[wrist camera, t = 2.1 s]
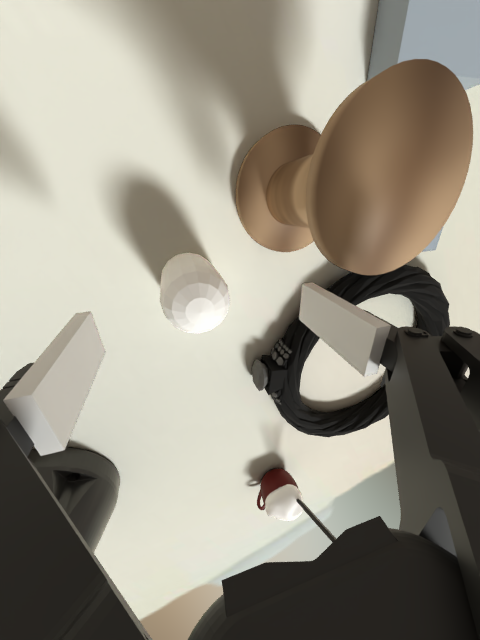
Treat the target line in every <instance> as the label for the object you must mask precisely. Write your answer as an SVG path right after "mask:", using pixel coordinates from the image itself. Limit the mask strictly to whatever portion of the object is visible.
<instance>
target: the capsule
mask: <svg viewBox="0 0 480 640" xmlns="http://www.w3.org/2000/svg"><path fill="white" fill-rule="evenodd" d="M160 303H161V306H162V309H163V312H164V314H165V316H166V318H167V319H168V320H169V321H170V322H171V323H172V324H173V326H174V327H176V328H178V329H180V330H182V331H184V332H186V333H203V332H206V331H210V330H212V329H213V328H215V327H216V326H218V325H219V324H220V323H221V322H222V321H223V319H224V318H225V316H226V315H227V314H228V309H229V305H230V297H229V292H228V286H227V284H226V283H225V281H224V280H223V278H222V277H221V275H220V274H219V273H218V271H217V270H216V269H215V268H214V267H213V265H212V264H211V263H210V262H209V261H208V260H207V259H205V258H204V257H202V256H201V255H199V254H194V253H189V252H188V253H183V254H178V255H176V256H174V257H173V258H171V259H170V260H169V261H167V263H166V265H165V266H164V268H163V270H162V274H161V286H160Z"/></svg>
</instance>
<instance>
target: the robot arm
mask: <svg viewBox="0 0 480 640" xmlns="http://www.w3.org/2000/svg"><path fill="white" fill-rule="evenodd" d="M299 320H300V321H301V322H303V323H304V324H305V325H306V326H307V327H308V328H309V329H311V330H312V331H313V332H314V333H315V334H316V335H317V336H318V337H320V338H321V339H322V340H323V341H324V342H325V343H326V344H328V345H329V346H330V347H331V348H332V349H333V350H334V351H335V352H337V353H338V354H339V355H340V356H341V357H342V358H343V359H345V360H346V361H347V362H348V363H349V364H350V365H351V366H352V367H354V368H355V369H356V370H357V371H358V372H359V373H360V374H362V375H363V376H364V377H365V376H369V375H373V374H377V372H378V368H379V365H380V364H382V365H383V366H384V367H386V369H385V373H384V376H383V379H382V382H381V387H383V385H384V384H385V386H386V394H387V402H388V410H389V419H390V427H391V435H392V443H393V451H394V459H395V467H396V475H397V484H398V492H399V500H400V507H401V521H400V527H399V530H398V529H391V528H388V527H387V526H386V524H385V523H384V521H383V520H382V519H381V517H380V516H378V517H376V518H374V519H371V520H369V521H366V522H364V523H361V524H359V525H356V526H354V527H352V528H349V529H347V530H345V531H344V532H343V533H342V534H341V535H340V536H339V537H338V538H337V539H336V540H335V541H334V542H333V543H332V544H331V545H330V546H329V547H328V548H327V549H326V550H325V551H324V552H323V553H322V554H321V555H320V556H319V557H318V558H317V559H315V560H313V561H305V562H273V563H272V562H269V563H263V564H261V565H258V566H256V567H254V568H251V569H249V570H246V571H244V572H241V573H239V574H236V575H234V576H232V577H229V578H227V579H224V580H222V586H223V592H224V594H223V595H222V596H221V597H220V598H218V599H217V600H216V601H215V602H214V603H213V604H212V605H211V607H210V608H209V609H208V610H207V611H206V612H205V613H204V615H203V616H202V618H201V619H200V620H199V622H198V623H197V625H196V626H195V628H194V629H193V631H192V633H191V635H190V637H189V638H188V640H480V334H478V333H477V332H475V331H472V330H470V329H468V328H464V327H447V328H445V330H444V332H443V335H442V336H431V335H430V334H429V333H428V332H426V331H424V330H421V329H419V328H414V327H400V328H397V327H395V326H394V325H392V324H390V323H388V322H386V321H384V320H382V319H380V318H379V317H377V316H374V315H373V314H371V313H370V312H368V311H365V310H362V309H360V308H358V307H357V306H355V305H353V304H351V303H349V302H347V301H346V300H344V299H342V298H340V297H338V296H336V295H335V294H333V293H331V292H329V291H327V290H325V289H324V288H322V287H320V286H318V285H316V284H314V283H313V282H311V283H303V284H302V291H301V303H300V314H299ZM105 352H106V351H105V349H104V346H103V343H102V340H101V338H100V335H99V332H98V329H97V327H96V324H95V321H94V318H93V315H92V313H91V312H83V313H76V314H75V315H74V316H73V317H72V319H71V320H70V321H69V322H68V323H67V325H66V326H65V327H64V328H63V329H62V330H61V332H60V333H59V334H58V335H57V336H56V338H55V339H54V340H53V341H52V342H51V344H50V345H49V346H48V347H47V348H46V350H45V351H44V352H43V353H42V354H41V356H40V357H39V358H38V359H37V360H36V362H35V363H29V364H27V365H26V366H25V367H23V368H22V369H20V370H19V371H17V372H16V373H15V374H14V375H13V377H12V378H11V379H10V380H9V382H7V383H6V384H5V386H4V387H3V389H1V390H0V640H152V638H151V637H150V636H149V634H148V633H147V631H146V630H145V628H144V627H143V626H142V624H141V623H140V621H139V620H138V618H137V617H136V615H135V614H134V612H133V611H132V609H131V608H130V606H129V605H128V604H127V602H126V601H125V599H124V598H123V596H122V595H121V593H120V592H119V590H118V589H117V587H116V586H115V584H114V583H113V581H112V580H111V578H110V577H109V575H108V574H107V572H106V571H105V570H104V568H103V567H102V565H101V564H100V562H99V561H98V559H97V558H96V556H95V555H94V551H95V549H96V547H97V545H98V543H99V540H100V538H101V536H102V534H103V532H104V530H105V528H106V525H107V523H108V521H109V519H110V517H111V515H112V512H113V510H114V508H115V505H116V502H117V498H118V491H119V485H120V476H119V473H118V471H117V469H116V468H115V466H114V465H113V464H112V463H111V462H110V461H108V460H107V459H105V458H104V457H102V456H100V455H98V454H95V453H93V452H89V451H86V450H81V449H75V448H66V446H67V443H68V441H69V439H70V436H71V434H72V431H73V429H74V427H75V424H76V422H77V419H78V417H79V415H80V412H81V410H82V407H83V405H84V403H85V400H86V398H87V396H88V393H89V391H90V388H91V386H92V384H93V381H94V379H95V376H96V374H97V372H98V369H99V367H100V364H101V362H102V360H103V357H104V355H105ZM468 367H469V370H470V375H469V378H467V377H466V376H465V375H464V374H465V372H466V371H467V369H468ZM33 446H34V447H35V448H36V449H34V450H32V448H33Z"/></svg>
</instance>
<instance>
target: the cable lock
mask: <svg viewBox="0 0 480 640" xmlns="http://www.w3.org/2000/svg"><path fill="white" fill-rule="evenodd" d="M327 291H329V292H331V293H333V294H335V295H336V296H338V297H340V298H342V299H344V300H346V301H347V302H349V303H351V304H353V305H355V306H356V305H358V304H359V303H361V302H363V301H365V300H367V299H369V298H373V297H377V296H381V295H385V294H389V293H391V294H400V295H403V296H405V297H407V298H409V299H410V301H411V302H412V303H413V305H414V306H415V309H416V312H417V316H418V323H417V328H419V329H421V330H424V331H426V332H428V333H429V334H430V335H431V336H442V335H443V332H444V330H445V328H447V327H449V325H450V321H449V313H448V308H449V303H448V301H447V299H446V297H445V295H444V293H443V291H442V289H441V285H440V283H439V282H437V281H436V280H435V279H433V278H432V277H431V276H430V274H429V273H428V272H426V271H424V270H422V269H420V268H419V267H411V266H407V265H403V266H401V267H399V268H397V269H395V270H393V271H390V272H387V273H384V274H379V275H361V274H357V273H354V272H352V273H350V274H349V275H347V276H345V277H344V278H342V279H340V280H339V281H337V282H336V283H334V284H333V285H332V286H331V287H330V288H328V289H327ZM319 338H320V337H318V336H317V335H316V334H315V333H314V332H313V331H312V330H311V329H309V328H308V327H307V326H306V325H305V324H304V323H303V322H301V321H300V320H299V316H298V317H297V318H296V320H295V321H294V322H293V323H292V324H291V325H290V326H289V328H288V330H287V332H286V334H285V336H284V338H283V340H282V339H281V338H280V339H279V342H280V343H278V342H277V343H276V345H275V348H273V349H272V351H271V355H272V356H267V355H262V357H261V361H259V360H258V359H256V360H255V361H254V363H253V366H252V375H253V382H254V384H255V386H256V387H257V389H258V390H259V391H260V390H263V389H264V388H265V390H266V391H267V393H268V395H269V394H271V396H272V398H274V402H275V404H276V406H277V408H278V410H279V412H280V414H281V416H282V417H283V418H285V420H286V421H287V422H288V423H289V424H291V425H292V426H293V427H295V428H296V429H297V430H299V431H301V432H304V433H306V434H308V435H316V436H323V437H331V436H336V435H345V434H348V433H351V432H354V431H357V430H360V429H364V428H366V427H368V426H369V425H371V424H373V423H375V422H377V421H379V420H381V419H383V418H385V417H386V416H387V415H388V414H389V410H388V402H387V394H386V386H385V385H384V386H383V387H382V388H381V389H380V390H379V391H378V392H377V393H376V394H375V395H373V396H372V397H370V398H368V399H366V400H364V401H362V402H361V403H359V404H357V405H356V406H354V407H352V408H347V409H343V410H339V411H335V412H329V413H323V412H319V411H316V410H312V409H310V408H309V407H307V406H306V405H304V404H303V403H302V401H301V397H300V392H299V389H300V379H301V373H302V369H303V366H304V363H305V361H306V359H307V357H308V356H309V354H310V352H311V350H312V348H313V347H314V346H315V344H316V343H317V341H318V340H319Z"/></svg>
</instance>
